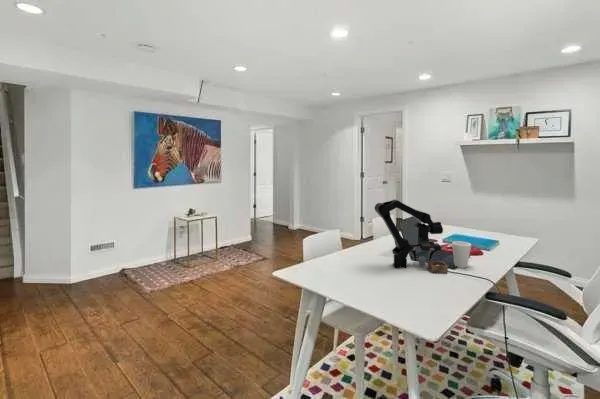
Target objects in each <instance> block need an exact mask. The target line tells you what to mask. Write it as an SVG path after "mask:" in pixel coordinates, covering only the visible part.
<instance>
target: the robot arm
mask: <svg viewBox="0 0 600 399" xmlns="http://www.w3.org/2000/svg"><path fill="white" fill-rule="evenodd" d="M395 209H398V210H400V211H403V213H404V212H405V213H406V214H409V215H410V216H411V217H413V218H414V219H415V220H417V222H416V223H415V224H414V225H413V227H416V228H417V236H416V237H417V241H416V243H417V244H413V243H412V242H409V240H408V239H407V238H405V237H402V236H401V233H400V232H399V230H398V228H397V226H396V224H395V222H394V221H393V219H392V218H391V211H393V210H395ZM374 211H375V212H376V213H377V215H378V216H379V217H380V218H381V219H382V220H383V223H384V224H385V226H386V228H387V230H388V231H389V233H390V234H391V236H392V238H393V240H394V246H395V247H394V248H393V249H392V251H391V252H392V254H393V263H392V265H393V268H397V269H398V268H399V269H400V268H401V269H407V265H408V263H407V262H408V260H407V258H408V257H409V256H408V255H409V253H410V252H411V254H412V256H413V259H414V262H417V255H416V254H417V253H416V252H417V251H416V249H420V250H421V251H423V252H425V251H427V252H428V257H427V259H428V260H427V262H428V261H431V259H432V257H433V254H435V253H437V252H439V251H440V252H441V251H442V245H440V244H439V243H437V242H435V241H430V238H429V234H430V235H441V234H443V232H444V228H443V225H442V222H441V221H434V222H433V220H432V216H431V214H430V213H428V212H427V213H426V212H425V211H422V210H421V211H420V210H418V209H415V208H413V207H411V206H409V205H407V204H406V203H403V202H402V201H400V200H397V199H392V200H389V201H385V202H384V201H383V202H377V203H375V205H374Z"/></svg>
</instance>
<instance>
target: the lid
mask: <svg viewBox="0 0 600 399" xmlns="http://www.w3.org/2000/svg"><path fill="white" fill-rule="evenodd" d="M426 260H427V259H426V256H418V261H412V265H413V266H414V267H415V268H416V269H417V268H419V269H422V268H424V269H428V263H427V262H428V261H427V262H426Z"/></svg>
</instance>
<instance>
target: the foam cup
mask: <svg viewBox="0 0 600 399" xmlns="http://www.w3.org/2000/svg"><path fill="white" fill-rule="evenodd" d="M451 244H452V245H451V247H452V253H453V254H452V255H453V263H454V265H455V266H454V267H456V266H457V267H456V268H460V269H461V268H462V269H465V268H466V269H467V267H468V264H469V259H470V255H471V254H470V253H471V250H472V244H471V243H470V242H467V241H459V240H458V241H452V242H451Z"/></svg>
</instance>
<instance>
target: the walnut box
mask: <svg viewBox="0 0 600 399" xmlns="http://www.w3.org/2000/svg"><path fill="white" fill-rule="evenodd" d="M427 262H428V268H427V269H428V270H429V272H430V273H431V274H446V275H447V274H448V271H449V269H448V268H449V266H448V265H447V264H446V263H445V261H438V260H437V261H433V260H430V261H428V260H427ZM436 265H439V266H436Z"/></svg>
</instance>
